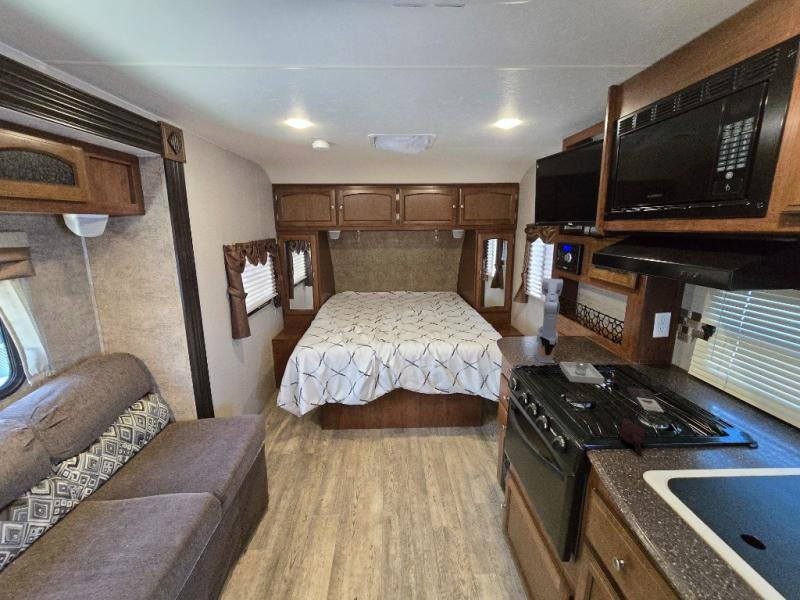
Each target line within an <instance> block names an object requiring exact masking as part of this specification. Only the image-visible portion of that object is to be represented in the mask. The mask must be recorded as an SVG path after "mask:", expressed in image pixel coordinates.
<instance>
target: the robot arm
mask: <svg viewBox="0 0 800 600" xmlns="http://www.w3.org/2000/svg"><path fill="white" fill-rule="evenodd" d="M563 286H564V280H563V278H548V277H547V278H546V277H543V278H542V283H541V295H543V296H545V300H544V303H543V319H542V320H543V321H542V326H540V327H538V329H537V335H536V343H538V344H537V347H536V354H534V357H535V359H536V360H537V362H538V363H545V364H555V361H554V358H546V357H541V356H540V355H539V351H540V345H541V346H545V355H551V352H552V350H553V348H554V349H555V346H556V345H558V337H559V333H558V329H557V321H558V314H559V313H560V302H559V297H560V296H561V294H562V291H563Z"/></svg>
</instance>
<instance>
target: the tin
mask: <svg viewBox="0 0 800 600" xmlns="http://www.w3.org/2000/svg"><path fill="white" fill-rule="evenodd" d="M576 363H577V364H576V370H575V374H577V375H579V376H585V375H586V369H587V363H588V362H585V361H581V360H580V361H576Z"/></svg>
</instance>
